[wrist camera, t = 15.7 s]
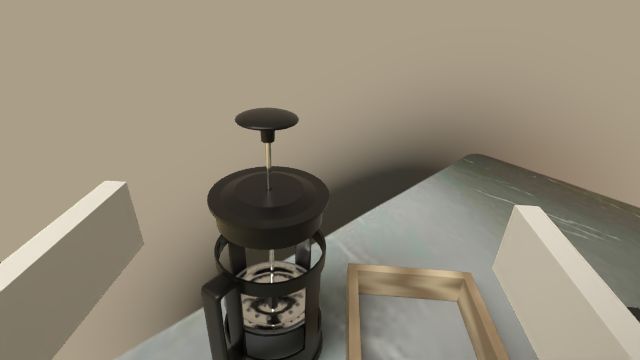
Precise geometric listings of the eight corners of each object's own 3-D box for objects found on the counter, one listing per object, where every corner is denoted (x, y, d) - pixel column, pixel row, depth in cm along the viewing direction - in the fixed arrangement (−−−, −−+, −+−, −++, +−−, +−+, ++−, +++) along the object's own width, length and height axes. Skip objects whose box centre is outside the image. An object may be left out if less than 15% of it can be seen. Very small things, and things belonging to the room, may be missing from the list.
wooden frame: (463, 295, 40) (470, 272, 38) (530, 467, 25) (547, 443, 24) (345, 285, 41) (348, 263, 39) (346, 450, 26) (350, 425, 24)
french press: (275, 285, 40) (269, 86, 29) (343, 327, 36) (368, 109, 25) (188, 361, 32) (134, 120, 21) (264, 430, 27) (246, 165, 16)
